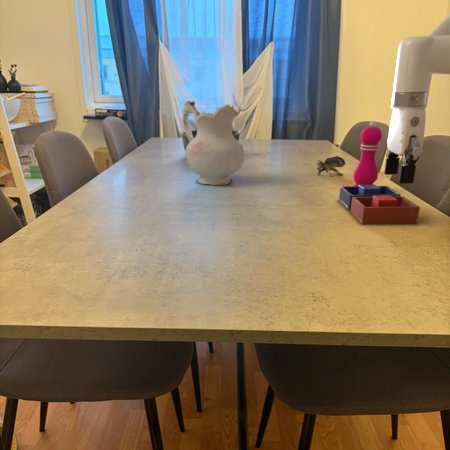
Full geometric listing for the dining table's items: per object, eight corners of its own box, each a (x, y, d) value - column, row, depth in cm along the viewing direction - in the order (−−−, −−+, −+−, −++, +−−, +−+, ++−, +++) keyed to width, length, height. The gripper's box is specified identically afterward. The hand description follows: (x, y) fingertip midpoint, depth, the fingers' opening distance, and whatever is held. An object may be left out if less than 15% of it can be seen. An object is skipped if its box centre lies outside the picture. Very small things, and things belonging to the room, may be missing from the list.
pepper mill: (351, 192, 131) (360, 121, 122) (351, 187, 137) (359, 119, 128) (376, 193, 129) (387, 122, 120) (374, 188, 136) (385, 119, 126)
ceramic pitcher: (172, 188, 143) (164, 106, 130) (192, 172, 158) (188, 97, 145) (234, 192, 137) (233, 107, 124) (250, 175, 153) (250, 98, 140)
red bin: (400, 212, 112) (403, 196, 110) (416, 223, 103) (420, 207, 101) (350, 212, 112) (352, 196, 110) (361, 224, 103) (364, 207, 101)
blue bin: (384, 200, 123) (387, 185, 121) (398, 210, 114) (401, 194, 112) (338, 200, 123) (340, 186, 121) (348, 210, 114) (350, 195, 112)
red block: (387, 213, 109) (390, 195, 107) (394, 218, 105) (397, 199, 103) (370, 213, 109) (372, 195, 107) (376, 218, 105) (378, 200, 103)
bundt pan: (178, 152, 202) (177, 129, 198) (233, 150, 207) (233, 128, 202) (184, 162, 179) (183, 136, 175) (246, 159, 184) (246, 134, 179)
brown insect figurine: (323, 174, 149) (348, 168, 149) (317, 155, 150) (342, 149, 150) (317, 182, 157) (341, 177, 157) (312, 164, 157) (336, 158, 158)
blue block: (373, 201, 120) (375, 184, 118) (378, 205, 116) (381, 188, 114) (356, 201, 120) (359, 184, 118) (361, 205, 116) (364, 188, 114)
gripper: (444, 102, 89) (429, 186, 97) (410, 98, 104) (399, 170, 112) (407, 104, 89) (395, 187, 97) (379, 99, 104) (371, 172, 112)
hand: (398, 178), depth 105 cm, fingers open, 9 cm apart
